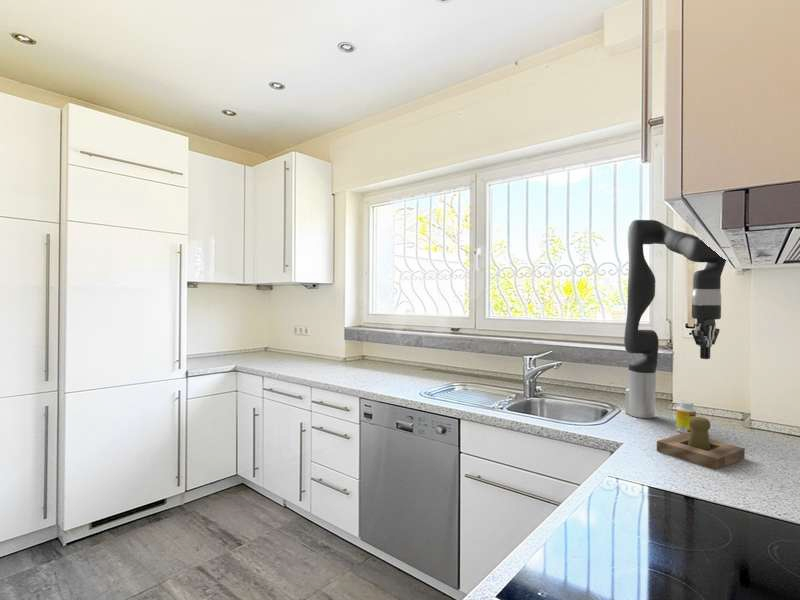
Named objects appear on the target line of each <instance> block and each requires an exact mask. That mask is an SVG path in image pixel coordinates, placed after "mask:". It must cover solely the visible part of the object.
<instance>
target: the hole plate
mask: <svg viewBox="0 0 800 600" xmlns="http://www.w3.org/2000/svg"><path fill="white" fill-rule="evenodd" d="M689 436H690V434H689V433H681V432H680V433H679V434H675V435H672V436H669V437H665V438H662V439H659V440H656V452H660V453H662V454H665V455H668V456H671V457H676V458H679V459H681V460H684V461H687V462H691V463H694V464H697V465H700V466H703V467H706V468H710V469H713V470H715V471H719V470H721V469H723V468H726V467H728V466H730V465H732V464H734V463H737V461H738V462H740V461H742V459H743V460H745V458H746V457H745V452H746V451H745V450H746V448H744V447H741V446H738V445H733V444H731V443H726V442H722V441H718V440H714V439H710V438H709V442H710V451H706V450H702V449H699V448H695V447H692V446H688V442H689Z"/></svg>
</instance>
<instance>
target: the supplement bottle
mask: <svg viewBox="0 0 800 600" xmlns="http://www.w3.org/2000/svg"><path fill="white" fill-rule="evenodd" d="M691 417H697V410H696V408H694V402H693V401H688V400H680V401H679V406H677V407H676V421H675V422H676V423H675V425H676V426H675V427H676V428H675V429H676V431H677V432H679V433H681V432H682V433H689V434H690V431H691V427H690V425H689V419H690V418H691Z"/></svg>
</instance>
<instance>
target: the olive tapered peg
mask: <svg viewBox="0 0 800 600" xmlns="http://www.w3.org/2000/svg"><path fill="white" fill-rule="evenodd" d="M689 425H690V427H691V431H690V436H689V442H688V446H692V447H695V448H699V449H702V450H706V451H710V442H709V439H710V436H709V435H710V434H709V430H710V428H711V422H710V421H709V419H708V418H707V417H701V416H696V417H691V418H690V419H689Z"/></svg>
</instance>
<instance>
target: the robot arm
mask: <svg viewBox="0 0 800 600" xmlns="http://www.w3.org/2000/svg"><path fill="white" fill-rule="evenodd" d="M702 240H703V239H700V238H699V237H698V236H696V235H694V234H690V233H686V232H684V231H683V232H682V231H679V230H676V229H674V228H671V227H670V226H667V225H666V224H665V223H664V222H660V221H658V220H655V219H634V220H632V221H631V222H630V223H629V225H628V229H627V251H628V275H627V276H628V277H627V278H628V280H627V310H626V321H625V327H624V336H623V337H624V339H623V343H624V344H623V345H624V348H625V349H624V350H625V351H626V352H627V353H629V354H642V355H641V356H640V357H639V358H638V359H636V360H633V361H630V362H629V364H628V375H627V377H628V378H627V379H628V381H627V382H628V383H627V384H628V387H627V388H626V389H625V405H624V406H625V407H624V408H625V410H624V411H625V414H627V415H629V416H632V417H635V418H640V419H654V418H655V417H656V380H657V377H656V375H657V372H656V371H657V365H658V356H659V355H658V353H659V336H658V333H657V332H656V331H655V330H653V329H639V327H640V326H639V325H640V322H641V319H642V317H643V315H644V313H645V312H646V311H647V309H648V308H649V306H650V305H651V303H652V302H653V300H654V298H655V297H656V277H655V274H654V272H653V271H652V269H651V267H650V266H649V264H648V262H647V260H646V258H645V255H644V245H656V244H657V245H664V246H665V248H667V249H668V250H669V251H671V252H672V253H677V254H679V255H681V256H683V257H685V258H686V260H689V261H691V262H693V263H706V264H705V268H704V269H701V270H697V271H695V272H694V273H693V275H692V276H693V278H692V282H693V283H692V284H693V285H692V295H691V318H692V319H695V320H696V321H695V322H696V323H695V328H694V329H691V331H690V332H691V335H692V338H693V340H694V343H695V344H696V345H697V346H698V347H700V349H699V354H700V355H699V357H700V359H702V360H710V359H711V348H712V346H713V345H715V343H716V341H717V339H718V336H719V334H720V330H721V329H720V328H717V326H716V325H717V324H716V320H720V319H721V318H722V292H721V283H722V281H721V278H722V274H723V271H724V268H725V265H726V262H727V260H725V259H723V258H722V257H720V256H719V255H718V254H717V253H716V252H715V251H713V250H712V249H711V248H710V247H708V246H707V245H706V244H705V243H704V242H703V241H702Z"/></svg>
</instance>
